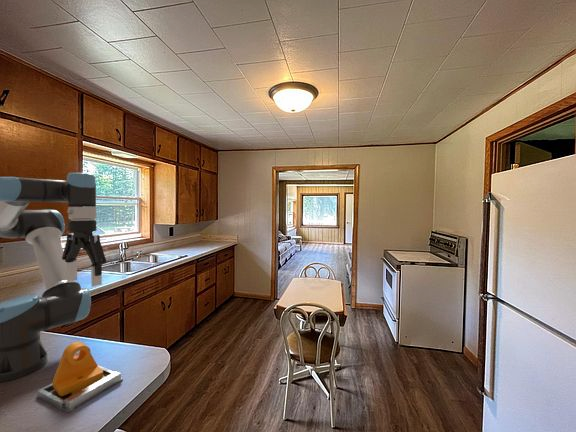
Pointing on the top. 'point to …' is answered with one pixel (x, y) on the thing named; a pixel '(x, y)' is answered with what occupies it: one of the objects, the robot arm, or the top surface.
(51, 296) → the robot arm
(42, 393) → the tray
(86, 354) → the bracket
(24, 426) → the top surface
